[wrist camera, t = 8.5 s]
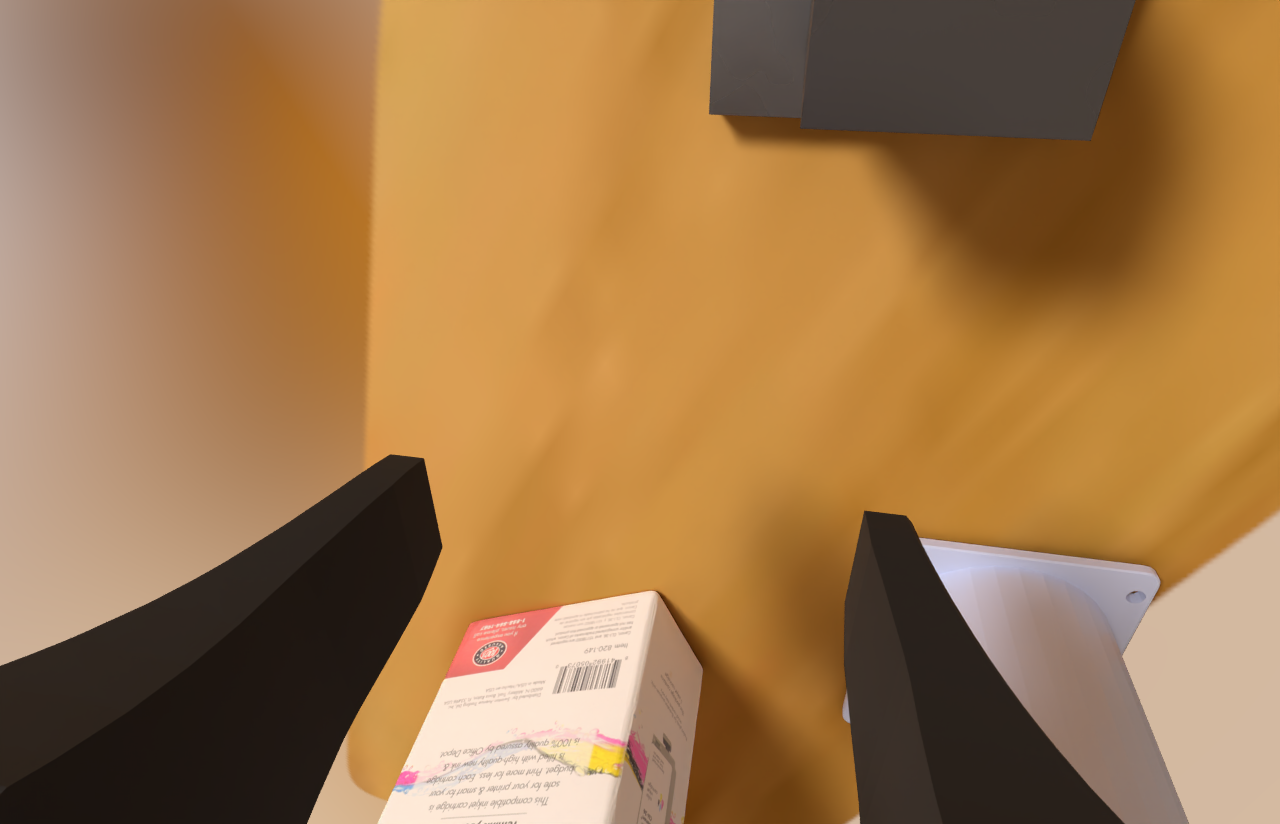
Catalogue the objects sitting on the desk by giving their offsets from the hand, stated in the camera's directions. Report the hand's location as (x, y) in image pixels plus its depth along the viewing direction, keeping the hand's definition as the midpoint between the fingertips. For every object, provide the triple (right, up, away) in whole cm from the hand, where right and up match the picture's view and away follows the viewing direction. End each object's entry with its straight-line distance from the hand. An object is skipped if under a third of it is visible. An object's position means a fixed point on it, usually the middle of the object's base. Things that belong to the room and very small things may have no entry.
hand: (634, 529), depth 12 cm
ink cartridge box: (-2, -7, +18) cm, 19 cm away
